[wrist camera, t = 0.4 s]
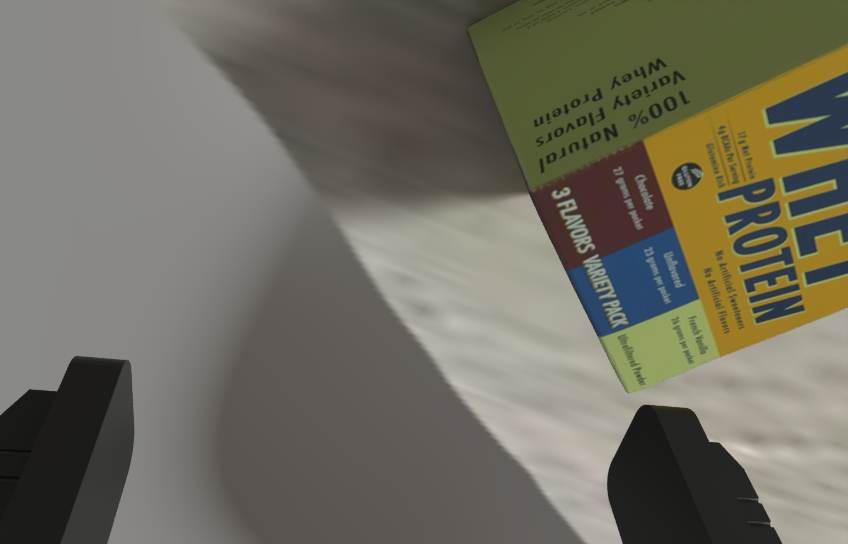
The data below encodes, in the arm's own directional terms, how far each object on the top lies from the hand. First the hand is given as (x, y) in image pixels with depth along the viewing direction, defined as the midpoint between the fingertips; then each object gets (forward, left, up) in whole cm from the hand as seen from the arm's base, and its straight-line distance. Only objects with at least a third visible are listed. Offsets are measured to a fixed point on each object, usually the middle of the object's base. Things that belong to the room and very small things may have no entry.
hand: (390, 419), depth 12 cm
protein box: (-2, +14, -27) cm, 31 cm away
